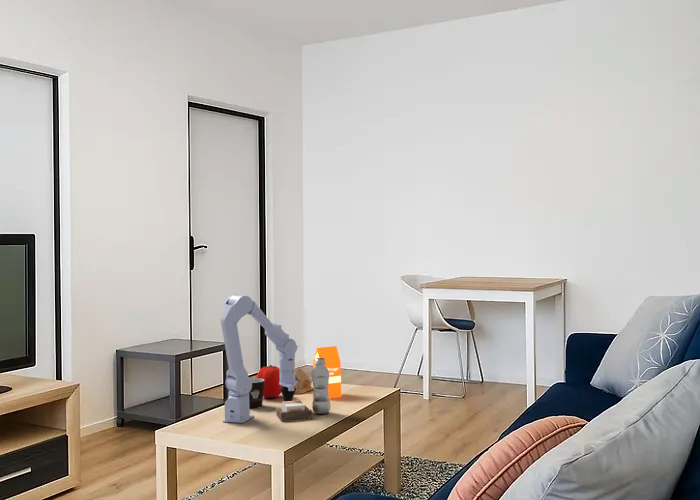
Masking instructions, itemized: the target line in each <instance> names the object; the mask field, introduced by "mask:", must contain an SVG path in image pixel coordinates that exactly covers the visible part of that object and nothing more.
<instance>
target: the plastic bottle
mask: <svg viewBox="0 0 700 500" xmlns="http://www.w3.org/2000/svg"><path fill="white" fill-rule="evenodd" d="M315 364H316V366H315V367H314V366H313V369H312V370H311V373H310V374H311V381H312V387H313V388H314V389H313V390H312V391H313V394H312V395H313V397H312V398H313V399H312V404H311V407H312V412H313V413H314V414H317V415H325V414H329V412H331V402H330V398H329V393H328V383H329V370H328V369H327V367H326V366H325V364H326V362H325V358H316V359H315Z"/></svg>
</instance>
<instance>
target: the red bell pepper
mask: <svg viewBox="0 0 700 500" xmlns="http://www.w3.org/2000/svg"><path fill="white" fill-rule="evenodd" d="M256 378H259V379H264V391H263V398H265V399H273V398H276V397H279V396H280V395H282V393H281V391H280V389H279V388H280V387H284V386H282V385H279V382H280V367H278V366H277V365H276V366H275V365H272V364H269V366H263V365H262V367H261V368H260V369H259V370H258V373H257V375H256Z"/></svg>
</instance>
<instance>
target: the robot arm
mask: <svg viewBox="0 0 700 500" xmlns="http://www.w3.org/2000/svg"><path fill="white" fill-rule="evenodd" d="M246 315H248V316H250V317H252V318H253V319H254V320H255V321H256V323H258V324H259V325H260V326H261V327H263V329H264V335H265V336H266V337H267V338H268V339H269V340H270V341H271V342H272V343H273V344H274V346H275V349H276V351H278V355H279V356H278V357H279V358H278V359H279V360H278V361H279V367H278V368H279V369H280V382H279V385H282V386H284V387H280V388H279V389H280V391H281V395H282V399H283V402H286V401H294V400H293V399H294V396H295V394H294V393H295V391H296V388H295V387H294V386H295V384H298V381H295V370H296V361H295V360H296V358H295V357H296V352H297V350H298V348H299V347H298V345H297V342H296V341H295V340H294V339H293V338H290V335H289V333H286V332H285V331H284V330H283V329H282V325H281V324H278V323H276V322H272V321H271V320H270V319H269V318H268V317H267V315H265V313H264V312H263V310H262V309H261V308H260V307H259V305H258V304H257V303H256V302H255V301H254V300H253V299H252V298H251V297H250V296H247V295H239V294H231V295H230V296H229V297H228V298H227V299H226V300H225V301H224V308H223V311H222V314H221V319H220V324H221V330H222V336H223V342H224V348H225V353H226V359H227V367H228V369H227V370H226V373H225V374H226V379H225V387H226V389H227V390H228V398H227V399H226V400H225V403H224V419H223V420H222V422H223V423H224V422H225V423H238V424H239V423H240V424H243V423H246V422H247V421H249V420H251V419H252V418H254V417H255V415H254V414H250V409H249V392H250V390H251V388H252V382H251V380H250V379H251V378H250V377H249V374H248V371H247V370H246V368H245V365H244V360H243V355H242V354H243V353H242V349H241V343H240V342H241V341H240V335H239V330H238V329H239V328H238V323H239V321H241V319H242V318H243V317H244V316H246Z"/></svg>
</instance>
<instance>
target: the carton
mask: <svg viewBox="0 0 700 500" xmlns="http://www.w3.org/2000/svg"><path fill="white" fill-rule="evenodd" d="M281 403H282V404H281V407H282V408H281V410H282V412H291V411H302V410H305V406H306V405H305V404H304V403H303V401H301V400H292V401H286V402H284V401H282V402H281Z"/></svg>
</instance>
